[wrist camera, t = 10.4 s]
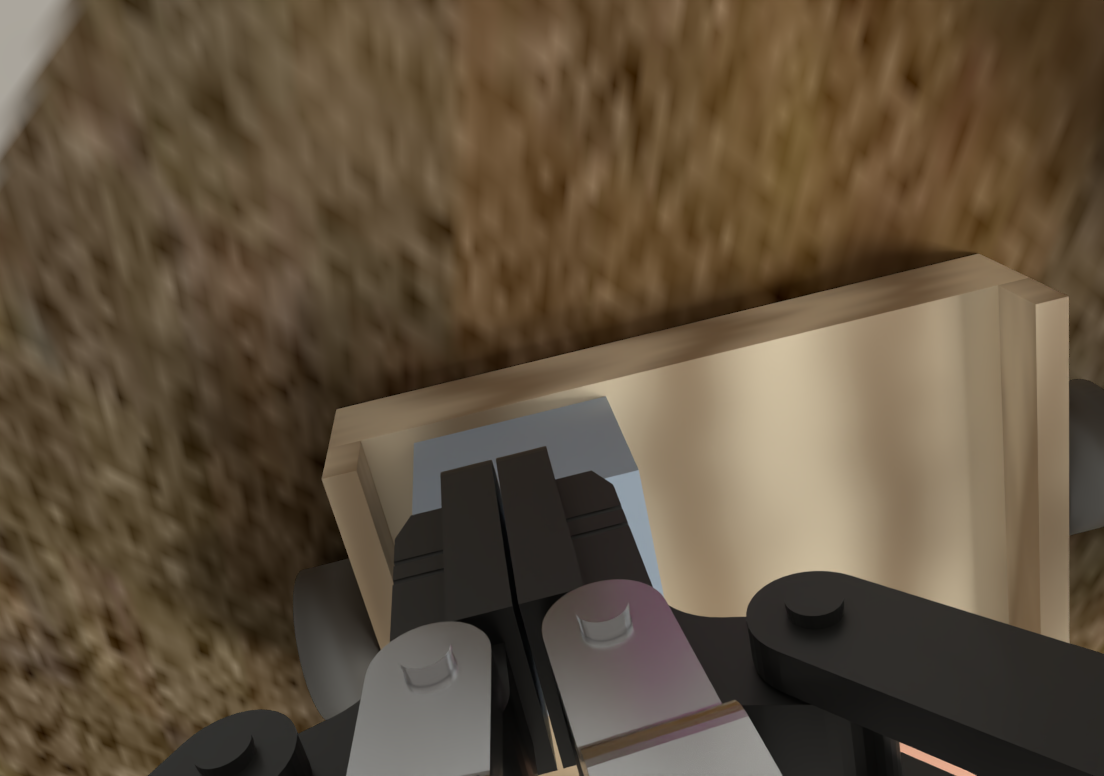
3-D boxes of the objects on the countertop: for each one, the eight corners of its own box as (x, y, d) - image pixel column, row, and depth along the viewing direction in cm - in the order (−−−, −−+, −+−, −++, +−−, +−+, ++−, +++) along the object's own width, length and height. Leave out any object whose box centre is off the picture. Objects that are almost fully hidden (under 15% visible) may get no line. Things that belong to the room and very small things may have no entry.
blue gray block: (606, 396, 30) (638, 470, 25) (644, 584, 33) (680, 682, 28) (413, 443, 30) (411, 525, 25) (469, 628, 32) (476, 733, 28)
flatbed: (1050, 236, 33) (1151, 275, 28) (1053, 651, 40) (1136, 738, 35) (261, 427, 32) (234, 500, 28) (404, 817, 39) (401, 928, 34)
